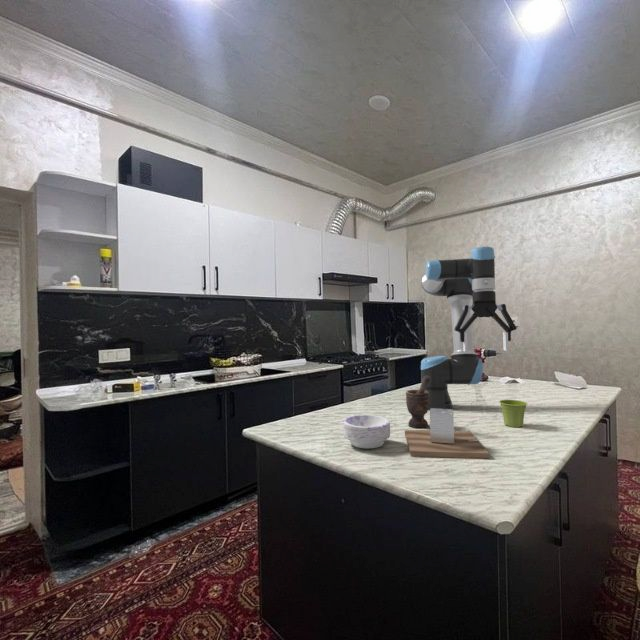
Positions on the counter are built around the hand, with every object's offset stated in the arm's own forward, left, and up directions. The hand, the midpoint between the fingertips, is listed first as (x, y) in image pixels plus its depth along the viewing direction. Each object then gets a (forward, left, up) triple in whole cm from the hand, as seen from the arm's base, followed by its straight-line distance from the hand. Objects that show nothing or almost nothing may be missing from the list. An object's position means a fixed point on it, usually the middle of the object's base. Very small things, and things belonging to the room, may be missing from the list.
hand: (485, 351), depth 130 cm
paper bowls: (+16, -42, -29) cm, 53 cm away
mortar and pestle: (-6, -22, -29) cm, 37 cm away
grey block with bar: (+13, -18, -27) cm, 35 cm away
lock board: (+15, -18, -29) cm, 37 cm away
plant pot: (-10, +12, -29) cm, 33 cm away
